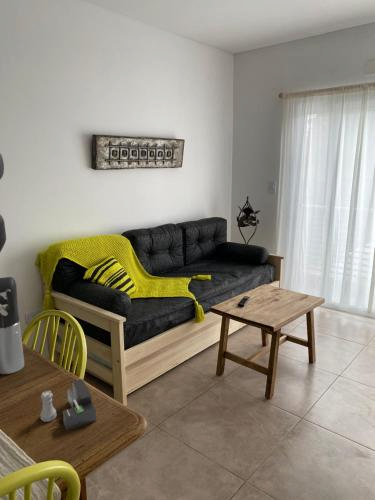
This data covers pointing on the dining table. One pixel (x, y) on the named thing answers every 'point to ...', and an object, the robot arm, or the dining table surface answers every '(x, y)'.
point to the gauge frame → (84, 401)
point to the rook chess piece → (47, 407)
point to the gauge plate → (72, 399)
